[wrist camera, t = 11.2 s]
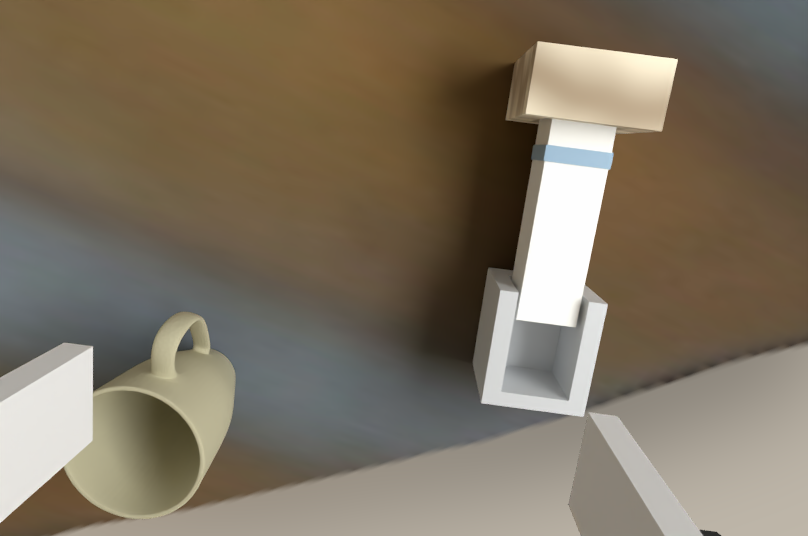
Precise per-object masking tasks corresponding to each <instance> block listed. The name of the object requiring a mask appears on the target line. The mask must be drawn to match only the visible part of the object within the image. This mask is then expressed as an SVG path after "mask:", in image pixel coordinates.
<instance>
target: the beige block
mask: <svg viewBox="0 0 808 536" xmlns="http://www.w3.org/2000/svg"><path fill="white" fill-rule="evenodd" d="M677 61H678V59H672V58H664V57H656V56H648V55H640V54H633V53H625V52H617V51H609V50H601V49H594V48H586V47H578V46H570V45H562V44H555V43H547V42H539V41H538V42H537V43H535V44H534V45H533V46H532V47H531V48H530V49H529V50H528V51H527V52H526V53H525V54H523V55H522V56H521V57H520V58H519V59H518V60H517V61H516V62H515V64H514V70H513V76H512V83H511V89H510V95H509V101H508V107H507V114H506V120H508V121H516V122H524V123H531V124H539V120H540V119H542V118H550V119H558V120H566V121H574V122H581V123H589V124H597V125H605V126H612V127H617V129H616V134H627V133H643V132H659V131H662V128H663V124H664V119H665V115H666V110H667V106H668V101H669V97H670V92H671V88H672V83H673V79H674V74H675V70H676V65H677Z"/></svg>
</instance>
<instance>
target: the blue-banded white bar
mask: <svg viewBox="0 0 808 536" xmlns="http://www.w3.org/2000/svg"><path fill="white" fill-rule="evenodd" d="M616 129H617V127H612V126H605V125H597V124H589V123H581V122H574V121H566V120H558V119H550V118H542V119H540V120H539V126H538V132H537V137H536V143H535V145H533V150H532V156H531V159H533V160H532V166H531V172H530V177H529V183H528V189H527V195H526V200H525V206H524V212H523V218H522V223H521V229H520V235H519V241H518V246H517V252H516V258H515V263H514V269H513V275H512V283H513V284H514V286H515V287H516V289H517V291H518V292H519V295H518V300H517V306H516V312H515V318H516V320H523V321H531V322H538V323H546V324H553V325H561V326H568V327H576V324H577V319H578V315H579V310H580V305H581V300H582V295H583V290H584V285H585V280H586V275H587V271H588V266H589V261H590V256H591V251H592V246H593V241H594V236H595V231H596V227H597V222H598V217H599V212H600V207H601V202H602V197H603V192H604V187H605V183H606V178H607V173H608V169H611V164H612V159H613V154H614V153H612V148H613V143H614V138H615V134H616Z"/></svg>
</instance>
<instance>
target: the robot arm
mask: <svg viewBox="0 0 808 536" xmlns="http://www.w3.org/2000/svg"><path fill="white" fill-rule="evenodd" d="M92 441H93V346H86V345H79V344H71V343H63V344H61V345H59V346H57V347H55V348H53V349H52V350H50V351H48V352H46V353H44V354H42V355H41V356H39V357H37V358H35V359H33V360H31V361H30V362H28V363H26V364H24V365H22V366H20V367H19V368H17V369H15V370H13V371H11V372H9V373H8V374H6V375H4V376H2V377H0V523H1V522H2V521H3V520H4V519H5V518H6V517H7V516H8V515H10V514H11V513H12V512H13V511H14V510H15V509H16V508H17V507H19V506H20V505H21V504H22V503H23V502H24V501H25V500H26V499H28V498H29V497H30V496H31V495H32V494H33V493H34V492H35V491H37V490H38V489H39V488H40V487H41V486H42V485H43V484H44V483H46V482H47V481H48V480H49V479H50V478H51V477H52V476H53V475H55V474H56V473H57V472H58V471H59V470H60V469H61V468H62V467H64V466H65V465H66V464H67V463H68V462H69V461H70V460H71V459H73V458H74V457H75V456H76V455H77V454H78V453H79V452H80V451H82V450H83V449H84V448H85V447H86V446H87V445H88V444H89V443H91V442H92ZM568 505H569V507H570V510H571V512H572V515H573V517H574V519H575V522H576V525H577V527H578V530H579V532H580V534H581V536H721V535H719V534H718V533H717V532H712V531H705V530H699V529H698V528H697V526H696V525H695V524H694V522H693V521H692V519H691V518H690V517H689V515H688V514H687V512H686V511H685V510H684V508H683V507H682V505H681V504H680V503H679V501H678V500H677V498H676V497H675V496H674V494H673V493H672V492H671V490H670V489H669V487H668V486H667V484H666V483H665V482H664V480H663V479H662V477H661V476H660V475H659V473H658V472H657V471H656V469H655V468H654V466H653V465H652V463H651V462H650V461H649V459H648V458H647V457H646V455H645V454H644V452H643V451H642V450H641V448H640V447H639V445H638V444H637V443H636V441H635V440H634V438H633V437H632V436H631V434H630V433H629V432H628V430H627V429H626V427H625V426H624V424H623V423H622V422H621V420H620V419H619V417H617V416H612V415H605V414H597V413H590V412H588V417H587V421H586V426H585V431H584V435H583V440H582V445H581V450H580V454H579V458H578V463H577V468H576V472H575V477H574V481H573V486H572V491H571V495H570V500H569V504H568Z"/></svg>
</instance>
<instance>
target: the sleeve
mask: <svg viewBox="0 0 808 536" xmlns="http://www.w3.org/2000/svg"><path fill="white" fill-rule="evenodd" d="M512 275H513V270H506V269H498V268H491V267H488V272H487V278H486V284H485V290H484V296H483V302H482V309H481V315H480V321H479V327H478V333H477V339H476V345H475V351H474V357H473V363H472V364H473V368H474V373H475V377H476V382H477V386H478V391H479V395H480V400H481V403H484V404H492V405H499V406H507V407H514V408H522V409H529V410H537V411H544V412H552V413H559V414H567V415H574V416H582V417H584V413H585V408H586V403H587V399H588V394H589V389H590V385H591V380H592V375H593V371H594V366H595V362H596V357H597V352H598V348H599V343H600V338H601V334H602V329H603V324H604V320H605V315H606V310H607V306H608V304H607V303H606V302H605V301H603V300H602V299H601V298H600V297H599V296H598V295H596V294H595V293H594V292H593V291H592V290H591V289H589V288H588V287H587V286H586V285H584V290H583V295H582V300H581V305H580V310H579V315H578V319H577V324H576V327H568V326H561V325H553V324H546V323H538V322H531V321H523V320H516V318H515V312H516V306H517V300H518V295H519V292H518V291H517V289H516V287H515V286H514V284H513V283H512Z"/></svg>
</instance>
